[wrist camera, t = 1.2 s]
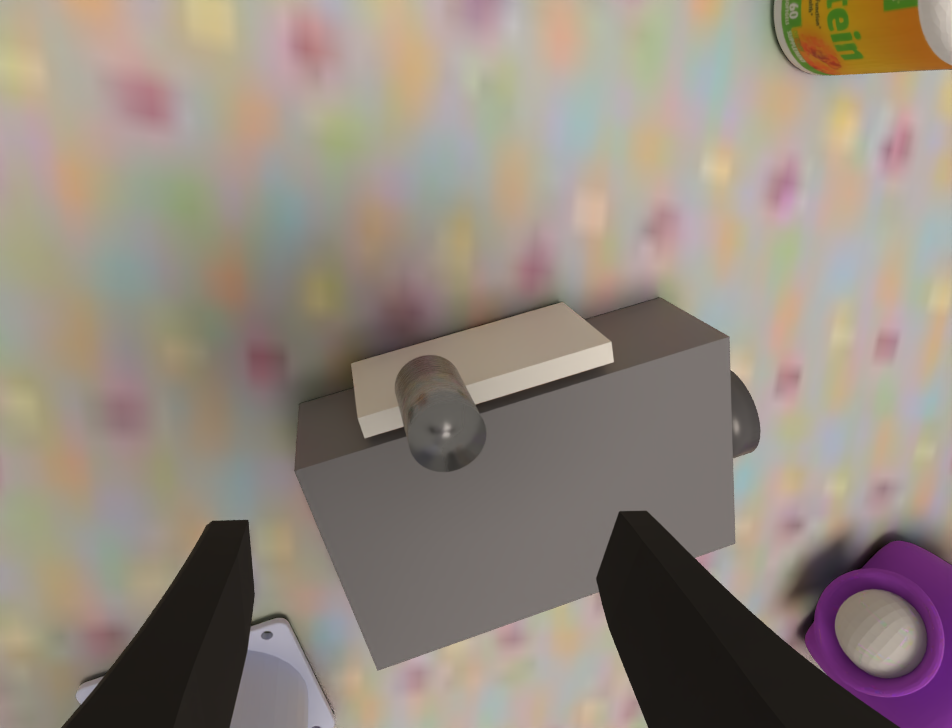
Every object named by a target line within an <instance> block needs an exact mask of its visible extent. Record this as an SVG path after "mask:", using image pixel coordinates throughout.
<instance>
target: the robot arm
mask: <svg viewBox="0 0 952 728" xmlns="http://www.w3.org/2000/svg"><path fill="white" fill-rule="evenodd" d="M596 581H597V585H598V589H599V593H600V597H601V601H602V605H603V609H604V612H605V616H606V620H607V623H608V627H609V630H610V632H611V635H612V638H613V640H614V643H615V645H616V648H617V650H618V653H619V655H620V658H621V661H622V663H623V666H624V668H625V671H626V673H627V676H628V678H629V681H630V683H631V686H632V688H633V691H634V693H635V696H636V698H637V701H638V703H639V706H640V708H641V711H642V713H643V716H644V718H645V721H646V723H647V725H648V728H900V727H899V726H897V725H896V724H894V723H893V722H892V721H890V720H889V719H887V718H886V717H884V716H883V715H881V714H880V713H879V712H877V711H876V710H874V709H873V708H871V707H870V706H868V705H867V704H866V703H864V702H863V701H861V700H860V699H858V698H857V697H856V696H854V695H853V694H851V693H850V692H849V691H847V690H846V689H845V688H843V687H842V686H841V685H839V684H838V683H836V682H835V681H834V680H833V679H831V678H830V677H829V676H827V675H826V674H825V673H824V672H822V671H821V670H820V669H818V668H817V667H816V666H815V665H813V664H812V663H811V662H809V661H808V660H807V659H806V658H804V657H803V656H802V655H800V654H799V653H798V652H797V651H796V650H794V649H793V648H792V647H791V646H790V645H788V644H787V643H786V642H785V641H784V640H782V639H781V638H780V637H779V636H778V635H777V634H775V633H774V632H773V631H772V630H771V629H770V628H769V627H767V626H766V625H765V624H764V623H763V622H762V621H761V620H759V619H758V618H757V617H756V616H755V615H754V614H753V613H752V612H750V611H749V610H748V609H747V608H746V607H745V606H744V605H743V604H742V603H741V602H740V601H738V600H737V599H736V598H735V597H734V596H733V595H732V594H731V593H730V592H729V591H728V590H727V589H726V588H725V587H724V586H723V585H722V584H721V583H719V582H718V581H717V580H716V579H715V578H714V577H713V576H712V575H711V574H710V573H709V572H708V571H707V570H706V569H705V568H704V567H703V566H702V565H701V564H700V563H699V562H698V561H697V560H696V559H695V558H694V557H693V556H692V555H691V554H690V553H689V552H688V551H687V550H686V549H685V548H684V547H683V546H682V545H681V544H680V543H679V542H678V541H677V540H676V539H675V538H674V537H673V536H672V535H671V534H670V533H669V532H668V531H667V530H666V529H665V528H664V527H663V526H662V525H661V524H660V523H659V522H658V521H657V520H656V519H655V518H654V517H653V516H652V515H651V514H650V513H649V512H648V511H619V513H618V516H617V519H616V522H615V525H614V528H613V530H612V533H611V536H610V539H609V542H608V545H607V548H606V551H605V553H604V556H603V559H602V562H601V565H600V568H599V571H598V574H597V577H596ZM254 596H255V593H254V581H253V569H252V557H251V546H250V534H249V522H248V520H227V521H212V522H210V523H209V524H208V525H207V526H206V527H205V529H204V531H203V533H202V535H201V536H200V538H199V540H198V542H197V543H196V545H195V547H194V549H193V550H192V552H191V554H190V555H189V557H188V559H187V560H186V562H185V563H184V565H183V567H182V568H181V570H180V571H179V573H178V574H177V576H176V578H175V579H174V581H173V582H172V584H171V585H170V587H169V588H168V590H167V591H166V593H165V594H164V596H163V597H162V599H161V600H160V601H159V603H158V604H157V606H156V607H155V609H154V610H153V611H152V613H151V614H150V616H149V617H148V619H147V620H146V622H145V623H144V624H143V626H142V627H141V629H140V630H139V631H138V633H137V634H136V635H135V637H134V638H133V639H132V641H131V642H130V643H129V645H128V646H127V647H126V649H125V650H124V651H123V652H122V654H121V655H120V656H119V658H118V659H117V660H116V662H115V663H114V664H113V665H112V667H111V668H110V669H109V671H108V672H107V673H106V674H105V676H103V677H100V678H97V679H94V680H91V681H88V682H85V683H83V684H81V685H80V686H79V688H78V690H77V692H76V699H77V700H78V702H79V703H80V704H81V705H80V706H79V708H78V709H77V710H76V711H75V712H74V714H73V715H72V716H71V717H70V718H69V719H68V721H67V722H66V723H65V724H64V725H63V726H62V727H61V728H334V726H335V716H334V714H333V712H332V710H331V708H330V706H329V704H328V702H327V700H326V698H325V696H324V694H323V691H322V689H321V687H320V685H319V683H318V681H317V679H316V677H315V675H314V673H313V671H312V669H311V667H310V665H309V663H308V661H307V659H306V657H305V654H304V652H303V650H302V648H301V646H300V644H299V642H298V640H297V638H296V636H295V634H294V632H293V630H292V628H291V626H290V624H289V622H288V621H287V620H286V619H284V618H274V619H271V620H268V621H266V622H263V623H260V624H257V625H254V626H251V620H252V612H253V604H254ZM265 631H270V633H264V632H265Z"/></svg>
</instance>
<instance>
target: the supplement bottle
mask: <svg viewBox="0 0 952 728" xmlns="http://www.w3.org/2000/svg"><path fill="white" fill-rule="evenodd" d="M774 24H775V30H776V35H777V38H778V41H779V44H780V46H781V48H782V50H783V52H784V54H785V55H786V57H787V58H788V59H789V60H790V61H791V62H792V63H793V64H794V65H795V66H796V67H797V68H799V69H801V70H802V71H804V72H807V73H810V74H814V75H848V74H868V73H887V72H907V71H926V70H952V0H775V1H774Z"/></svg>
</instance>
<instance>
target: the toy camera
mask: <svg viewBox="0 0 952 728" xmlns="http://www.w3.org/2000/svg"><path fill="white" fill-rule="evenodd" d="M805 643H806V646H807V648H808V651H809V652H810V654H811V655H812V657H813V658H814V660H815V661H816V662H817V663H818V665H819V666H820V667H821V668H822V669H823V671H824V672H825V673H826V674H827V675H828V676H829V677H830V678H831V679H833V680H834V681H835V682H836V683H838V684H839V685H841V686H842V687H843V688H845V689H846V690H847V691H849V692H850V693H851V694H853V695H854V696H856V697H857V698H858V699H860V700H861V701H863V702H864V703H866V704H867V705H868V706H870V707H871V708H873V709H874V710H876V711H877V712H879V713H880V714H881V715H883V716H884V717H886V718H887V719H889V720H890V721H892V722H893V723H894V724H896V725H897V726H899V727H900V728H952V565H951V564H949V563H947V562H946V561H944V560H942V559H941V558H939V557H938V556H936V555H934V554H932V553H931V552H929V551H927V550H925V549H923V548H921V547H919V546H917V545H915V544H912V543H909V542H905V541H893V542H890V543H888V544H887V545H885V546H884V547H882V548H881V549H880V550H879V551H878V552H877V553H876V554H875V555H874V556H873V557H872V558H871V559H870V560H869V561H868V562H867V563H866V564H865V565H864V566H863V567H862V568H861V569H858V570H854V571H850V572H848V573H845V574H843V575H841V576H839V577H838V578H836V579H835V580H833V581H832V582H831V583H830V584H829V585H828V586H827V587H826V588H825V590H824V591H823V593H822V594H821V596H820V598H819V601H818V603H817V607H816V610H815V617H814V622H813V623H812V625H811V626H810V628H809V629H808V631H807V633H806V636H805Z"/></svg>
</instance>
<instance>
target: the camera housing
mask: <svg viewBox="0 0 952 728" xmlns="http://www.w3.org/2000/svg"><path fill="white" fill-rule="evenodd" d="M585 321H587V322H588V323H589V324H590V325H592V326H593V327H594V328H595V329H596V330H598V331H599V332H600V333H601V334H603V335H604V336H605V337H606V338H607V339H609V340H610V341H611V342H612V351H613V359H614V362H613V363H609V364H606V365H603V366H599V367H596V368H593V369H590V370H586V371H583V372H580V373H577V374H573V375H570V376H567V377H564V378H560V379H557V380H554V381H551V382H547V383H544V384H541V385H537V386H534V387H531V388H528V389H524V390H521V391H518V392H515V393H511V394H508V395H505V396H502V397H498V398H495V399H492V400H488V401H485V402H482V403H479V404H475V405H476V407H477V409H478V411H479V413H480V415H481V417H482V419H483V421H484V423H485V426H486V441H485V444H484V447H483V449H482V451H481V452H480V454H479V455H478V456H477V457H476V458H475V459H474V460H473V461H472V462H471V463H470V464H468V465H467V466H465V467H463V468H461V469H458V470H455V471H450V472H436V471H432V470H429V469H427V468H425V467H423V466H421V465H420V464H419V463H418V462H417V461H416V460H415V459H414V457H413V456H412V454H411V451H410V448H409V444H408V440H407V437H406V433H405V429H404V427H400V428H397V429H394V430H391V431H387V432H384V433H381V434H377V435H374V436H371V437H368V438H364V435H363V432H362V430H361V427H360V424H359V421H358V417H357V409H356V401H355V392H354V388H352V389H348V390H345V391H341V392H338V393H335V394H331V395H328V396H324V397H321V398H318V399H314V400H311V401H308V402H304V403H301V404H299V412H298V427H297V441H296V456H295V470H294V471H295V473H296V476H297V478H298V481H299V483H300V485H301V488H302V490H303V493H304V495H305V497H306V500H307V502H308V505H309V507H310V509H311V512H312V514H313V517H314V519H315V521H316V524H317V526H318V529H319V531H320V533H321V536H322V538H323V541H324V543H325V545H326V548H327V550H328V553H329V555H330V557H331V560H332V562H333V565H334V567H335V569H336V572H337V574H338V577H339V579H340V581H341V584H342V586H343V589H344V591H345V593H346V596H347V598H348V601H349V603H350V605H351V608H352V610H353V613H354V615H355V617H356V620H357V622H358V625H359V627H360V629H361V632H362V634H363V637H364V639H365V641H366V644H367V646H368V649H369V651H370V653H371V656H372V658H373V661H374V663H375V665H376V668H377V670H381V669H384V668H387V667H390V666H392V665H395V664H398V663H401V662H404V661H406V660H409V659H412V658H415V657H418V656H420V655H423V654H426V653H429V652H432V651H434V650H437V649H440V648H443V647H446V646H449V645H451V644H454V643H457V642H460V641H463V640H465V639H468V638H471V637H474V636H477V635H479V634H482V633H485V632H488V631H491V630H493V629H496V628H499V627H502V626H505V625H508V624H510V623H513V622H516V621H519V620H522V619H524V618H527V617H530V616H533V615H536V614H538V613H541V612H544V611H547V610H550V609H553V608H555V607H558V606H561V605H564V604H567V603H569V602H572V601H575V600H578V599H581V598H583V597H586V596H589V595H592V594H595V593H597V592H599V589H598V585H597V581H596V577H597V574H598V571H599V568H600V565H601V562H602V559H603V556H604V553H605V551H606V548H607V545H608V542H609V539H610V536H611V533H612V530H613V528H614V525H615V522H616V519H617V516H618V513H619V511H648V512H649V513H650V514H651V515H652V516H653V517H654V518H655V519H656V520H657V521H658V522H659V523H660V524H661V525H662V526H663V527H664V528H665V529H666V530H667V531H668V532H669V533H670V534H671V535H672V536H673V537H674V538H675V539H676V540H677V541H678V542H679V543H680V544H681V545H682V546H683V547H684V548H685V549H686V550H687V551H688V552H689V553H690V554H691V555H692V556H693V557H694V558H696V557H699V556H701V555H704V554H707V553H710V552H713V551H715V550H718V549H721V548H724V547H727V546H730V545H732V544H735V515H734V481H733V458H736V457H739V456H742V455H745V454H748V453H751V452H753V451H754V450H755V449H756V448H757V446H758V443H759V440H760V422H759V417H758V413H757V410H756V407H755V404H754V401H753V399H752V397H751V395H750V393H749V391H748V390H747V388H746V386H745V385H744V384H743V382H742V381H741V380H740V378H739V377H738V376H737V375H736V374H735V373H734V372H732V371H731V370H730V341H729V336H727V335H725V334H724V333H722V332H720V331H718V330H717V329H715V328H713V327H711V326H710V325H708V324H706V323H704V322H703V321H701V320H699V319H697V318H696V317H694V316H692V315H690V314H689V313H687V312H685V311H683V310H682V309H680V308H678V307H676V306H675V305H673V304H671V303H669V302H667V301H666V300H664V299H662V298H657V299H653V300H650V301H646V302H643V303H640V304H636V305H633V306H629V307H626V308H623V309H619V310H616V311H613V312H609V313H606V314H602V315H599V316H596V317H592V318H589V319H585Z"/></svg>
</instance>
